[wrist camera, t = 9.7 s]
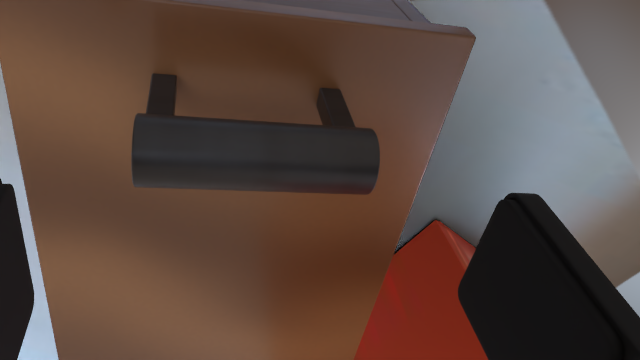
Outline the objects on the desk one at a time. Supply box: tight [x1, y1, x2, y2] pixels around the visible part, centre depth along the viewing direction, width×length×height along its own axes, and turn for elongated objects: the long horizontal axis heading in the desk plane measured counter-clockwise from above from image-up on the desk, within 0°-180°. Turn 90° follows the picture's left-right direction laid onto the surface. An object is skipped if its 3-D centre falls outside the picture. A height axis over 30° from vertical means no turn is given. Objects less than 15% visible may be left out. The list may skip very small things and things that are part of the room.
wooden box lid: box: [0, 0, 476, 360], centre depth 18 cm, size 17×14×5 cm
